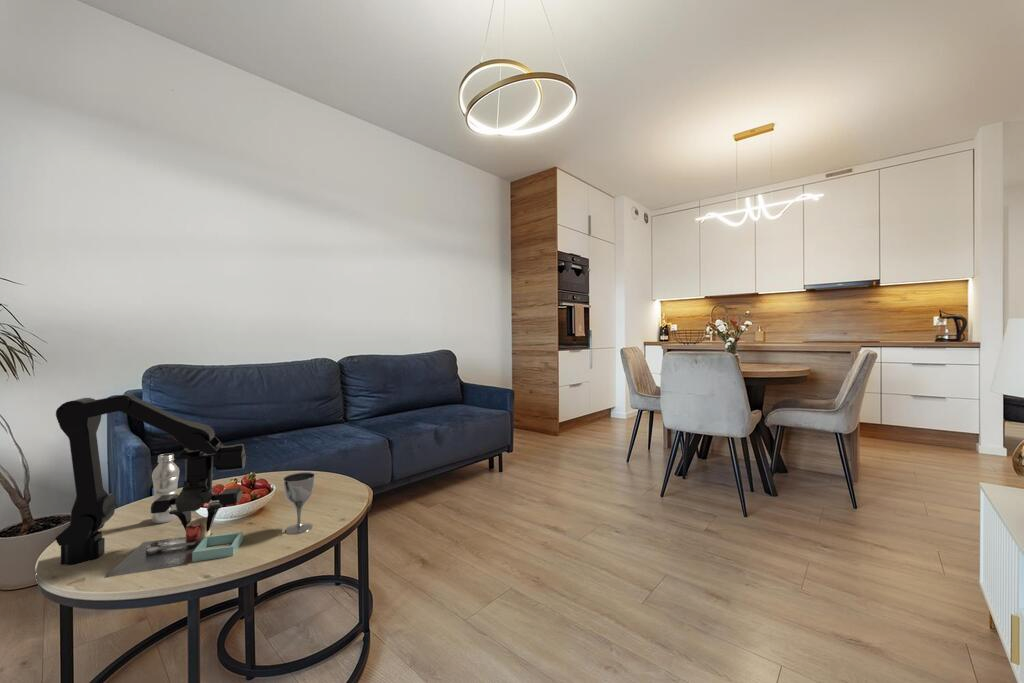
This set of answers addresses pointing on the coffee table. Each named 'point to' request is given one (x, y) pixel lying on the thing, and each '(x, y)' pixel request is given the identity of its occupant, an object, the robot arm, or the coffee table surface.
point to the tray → (213, 553)
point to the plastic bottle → (165, 484)
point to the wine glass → (298, 497)
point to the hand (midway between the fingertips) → (198, 531)
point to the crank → (191, 537)
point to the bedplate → (154, 558)
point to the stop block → (203, 527)
